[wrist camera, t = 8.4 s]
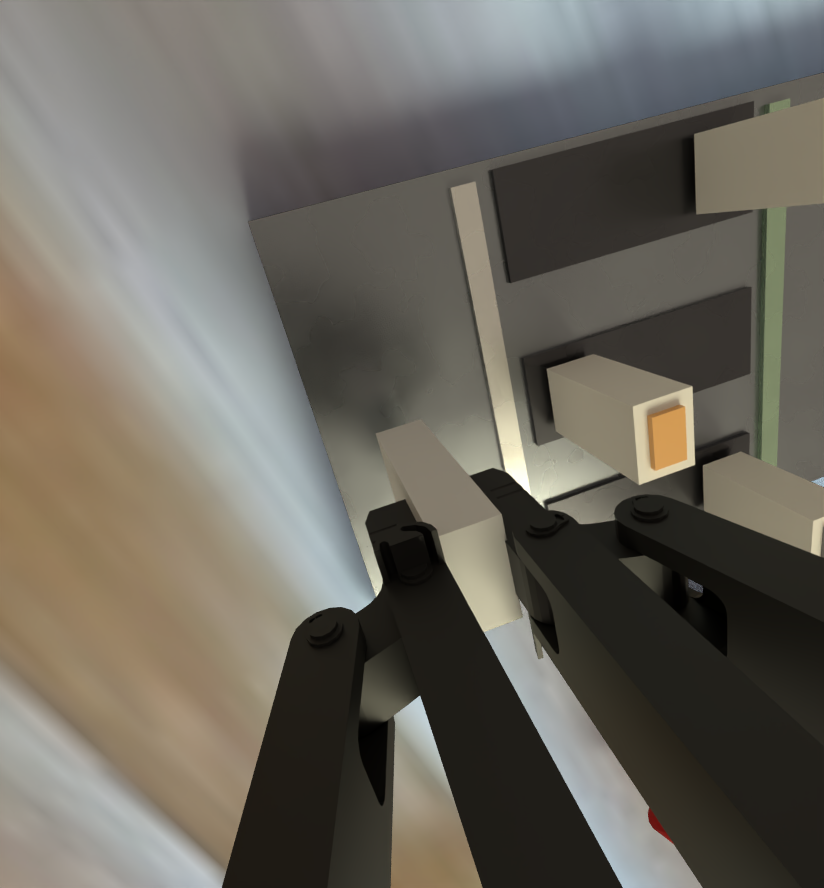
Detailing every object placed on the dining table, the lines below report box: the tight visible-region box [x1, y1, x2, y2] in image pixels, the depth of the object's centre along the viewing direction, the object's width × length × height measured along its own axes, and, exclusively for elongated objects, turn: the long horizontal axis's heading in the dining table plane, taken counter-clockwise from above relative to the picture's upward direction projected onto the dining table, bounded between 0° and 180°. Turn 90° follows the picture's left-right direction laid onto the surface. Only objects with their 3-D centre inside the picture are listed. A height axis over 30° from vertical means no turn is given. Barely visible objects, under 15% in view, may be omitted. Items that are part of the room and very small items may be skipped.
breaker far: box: [703, 452, 824, 558], centre depth 20 cm, size 2×2×5 cm
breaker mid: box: [547, 354, 695, 485], centre depth 16 cm, size 2×2×5 cm
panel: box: [248, 73, 824, 597], centre depth 20 cm, size 24×16×2 cm, turn 104°
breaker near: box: [694, 98, 824, 214], centre depth 15 cm, size 2×2×5 cm
